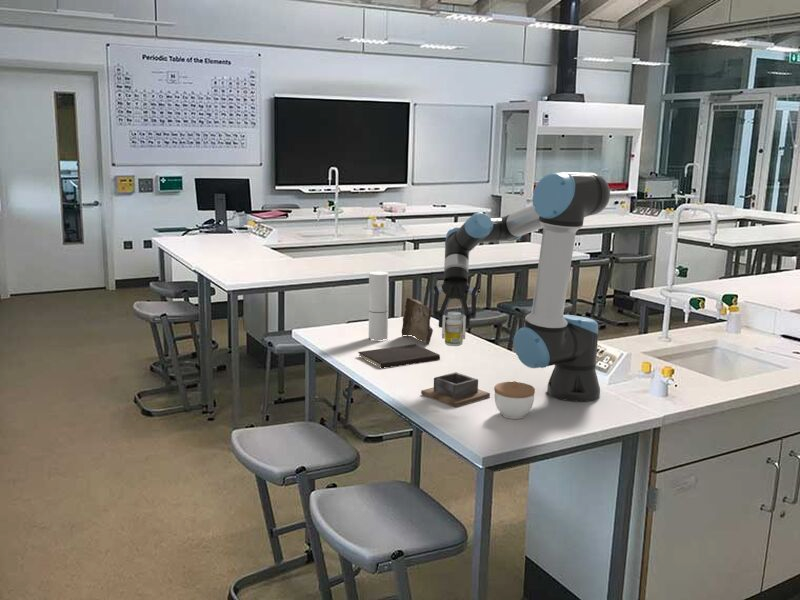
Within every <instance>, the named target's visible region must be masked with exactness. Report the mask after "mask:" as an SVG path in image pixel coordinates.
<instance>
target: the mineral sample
mask: <svg viewBox="0 0 800 600" xmlns="http://www.w3.org/2000/svg"><path fill="white" fill-rule="evenodd" d="M404 308H405V309H404V311H403V317H402V327H401V337H402V336H403V335H412V336H415V337H416V338H417V339H419V340H422V341H421V342H423V341H425V342H424V343H425V346H426V345H427V344H428V345H429V344H430V343H431V338H432V335H433V332H434V330H433V328H432V327H431V324H430V322H431V317H432V316H431V314H432V309H431V308H429V306H426V305H425V304H424V303H423V302H421V301H420V300H418V299H413V298H408V297H407V298H406V301H405V305H404ZM419 340H418V341H419Z"/></svg>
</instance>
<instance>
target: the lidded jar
mask: <svg viewBox="0 0 800 600" xmlns="http://www.w3.org/2000/svg"><path fill="white" fill-rule="evenodd" d="M493 387H494V402H495V406H496V409H497V410H498V411H499V413H501V415H502V417H503V418H506V419H511V420H522V419H524V418H525V417H526V415H527V414H528V413H530V411H531V410H532V408H533V405H534V400H535V393H536V389H535V387H534V386H532V385H531V384H528V383H526V382H525V383H524V382H520V381H515V380H514V381H505V382H504V381H503V382H499V383H496V384H495V385H494V386H493Z"/></svg>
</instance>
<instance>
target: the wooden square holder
mask: <svg viewBox="0 0 800 600" xmlns="http://www.w3.org/2000/svg"><path fill="white" fill-rule="evenodd" d="M420 394H422V396H425V397H427V398H430V399H432V400H435V401H437V402H441V403H443V404H445V405H449V406H451V407H454V408H458V407H462V406H465V405H468V404H473V403H475V402H479V401H481V400H485V399H488V398H491V397H490V396H491V392H487V391H484V390H482V389H479V379H478V378H475V377H472V376H469V375H465V374H463V373H459V372H456V371H455V372H452V373H447V374H444V375H440V376H435V377H433V386H432V387H430V388H426V389H422V390H420Z"/></svg>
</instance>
